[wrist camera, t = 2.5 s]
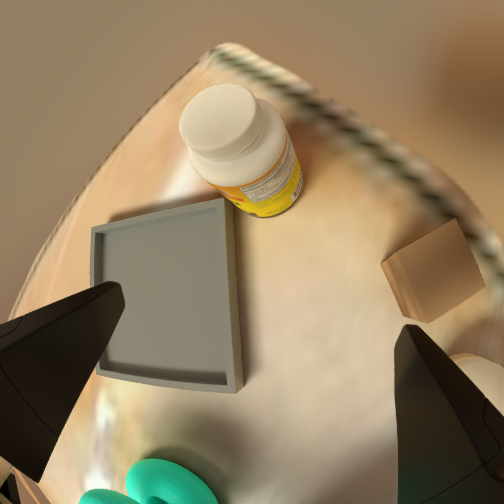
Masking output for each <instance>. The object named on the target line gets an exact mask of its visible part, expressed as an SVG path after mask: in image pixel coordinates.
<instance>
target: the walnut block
mask: <svg viewBox="0 0 504 504" xmlns="http://www.w3.org/2000/svg"><path fill="white" fill-rule="evenodd" d="M380 265H381V267H382V269H383V271H384V273H385V276H386V278H387V280H388V282H389V284H390V287H391V289H392V291H393V293H394V295H395V298H396V300H397V302H398V305H399V307H400V309H401V312H402V314H403V316H405V317H408V318H411V319H414V320H417V321H420V322H423V323H427V324H428V323H430V322H431V321H433V320H435V319H436V318H438V317H440V316H441V315H443V314H445V313H446V312H448V311H449V310H451V309H453V308H454V307H456V306H457V305H459V304H460V303H462V302H463V301H465V300H466V299H468V298H469V297H471V296H472V295H474V294H475V293H477V292H478V291H479V290H481V289H482V288H484V287H485V283H484V280H483V278H482V275H481V273H480V270H479V268H478V265H477V263H476V261H475V258H474V256H473V254H472V251H471V249H470V247H469V245H468V243H467V240H466V238H465V236H464V234H463V232H462V230H461V228H460V226H459V224H458V222H457V220H456V218H454V219H453V220H451V221H449V222H448V223H446V224H444V225H443V226H441V227H439V228H437V229H436V230H434V231H432V232H431V233H429V234H427V235H425V236H424V237H422V238H420V239H418V240H417V241H415V242H413V243H411V244H409V245H408V246H406V247H404V248H402V249H400V250H398V251H397V252H395V253H394V254H393V255H392V256H390V257H389V258H388V259H387V260H385V261H384V262H383V263H382V264H380Z"/></svg>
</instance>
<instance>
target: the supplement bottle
mask: <svg viewBox="0 0 504 504" xmlns="http://www.w3.org/2000/svg"><path fill="white" fill-rule="evenodd" d="M179 128H180V134H181V136H182V138H183V140H184V141H185V142H186V143H187V152H188V158H189V161H190V163H191V165H192V167H193V169H194V170H195V171H196V173H197V174H198V175H199V176H200V177H202V178H203V179H204V180H205V181H206V182H208V183H209V184H210V185H211V186H213V187H214V188H215V189H216V190H218V191H219V192H220V193H221V194H223V195H224V196H225V197H226V198H227V199H229V200H230V201H231V202H232V203H234V204H235V205H236V206H237V207H238V208H240V209H241V210H242V211H244V212H245V213H247V214H248V215H250V216H253V217H256V218H260V219H270V218H275V217H278V216H281V215H283V214H285V213H286V212H288V211H289V210H290V209H292V208H293V207H294V206H295V204H296V203H297V202H298V200H299V198H300V196H301V194H302V191H303V185H304V180H303V174H302V170H301V167H300V164H299V161H298V158H297V155H296V152H295V150H294V147H293V144H292V142H291V139H290V136H289V134H288V131H287V129H286V126H285V123H284V121H283V119H282V117H281V115H280V114H279V112H278V111H277V110H276V109H275V108H274V107H273V106H272V105H271V104H269V103H268V102H266V101H264V100H262V99H259V98H256V97H255V96H254V95H253V93H252V92H251V91H250V90H249V89H247V88H246V87H244V86H242V85H239V84H235V83H222V84H217V85H214V86H211V87H209V88H207V89H205V90H203V91H201V92H200V93H198V94H197V95H196V96H195V97H194V98H193V99H192V100H191V101H190V102H189V103H188V104H187V106H186V107H185V109H184V111H183V113H182V115H181V118H180V124H179Z"/></svg>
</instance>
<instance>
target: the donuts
mask: <svg viewBox="0 0 504 504" xmlns="http://www.w3.org/2000/svg"><path fill="white" fill-rule="evenodd" d="M126 488H127V492H128V495H129V497H128V496H126V495H123V494H121V493H119V492H116V491H112V490H107V489H93V490H89V491H88V492H86V493H84V495H83V496H82V497H81V499H80V502H79V504H167V503H168V504H218V502H217V499H216V497H215V495H214V494H213V492H212V491H211V490H210V488H209V487H208V486H207V485H206V484H205V483H204V482H203V481H202V480H201V479H200V478H199V477H197V476H196V475H195V474H193V473H192V472H190V471H189V470H187V469H186V468H184V467H182V466H180V465H178V464H175V463H173V462H170V461H167V460H162V459H145V460H141V461H139V462H137V463H135V464H134V465H133V466H132V467H131V468H130V469H129V471H128V473H127V476H126ZM166 502H167V503H166Z"/></svg>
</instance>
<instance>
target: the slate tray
mask: <svg viewBox="0 0 504 504" xmlns="http://www.w3.org/2000/svg"><path fill="white" fill-rule="evenodd" d="M106 281H115V282H118V283H120V285H121V287H122V291H123V295H124V299H125V309H124V311H123V313H122V315H121V318H120V320H119V322H118V324H117V326H116V328H115V330H114V333H113V335H112V337H111V339H110V341H109V343H108V345H107V347H106V349H105V351H104V352H103V354H102V356H101V358H100V359H99V361H98V363H97V365H96V374H97V375H101V376H105V377H110V378H115V379H120V380H125V381H130V382H136V383H142V384H148V385H154V386H161V387H169V388H176V389H185V390H194V391H205V392H217V393H233V394H236V393H237V392H239V391H240V390H241V389H242V388H243V387H244V377H243V363H242V349H241V335H240V321H239V305H238V290H237V273H236V256H235V239H234V220H233V205H232V204H231V203H230V202H229V201H227V200H226V199H225V198H220V199H214V200H209V201H204V202H199V203H194V204H189V205H185V206H180V207H175V208H171V209H166V210H161V211H157V212H152V213H148V214H144V215H139V216H135V217H131V218H127V219H123V220H119V221H115V222H111V223H107V224H103V225H99V226H95V227H92V230H91V250H90V288H91V287H94V286H96V285H99V284H101V283H104V282H106Z"/></svg>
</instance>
